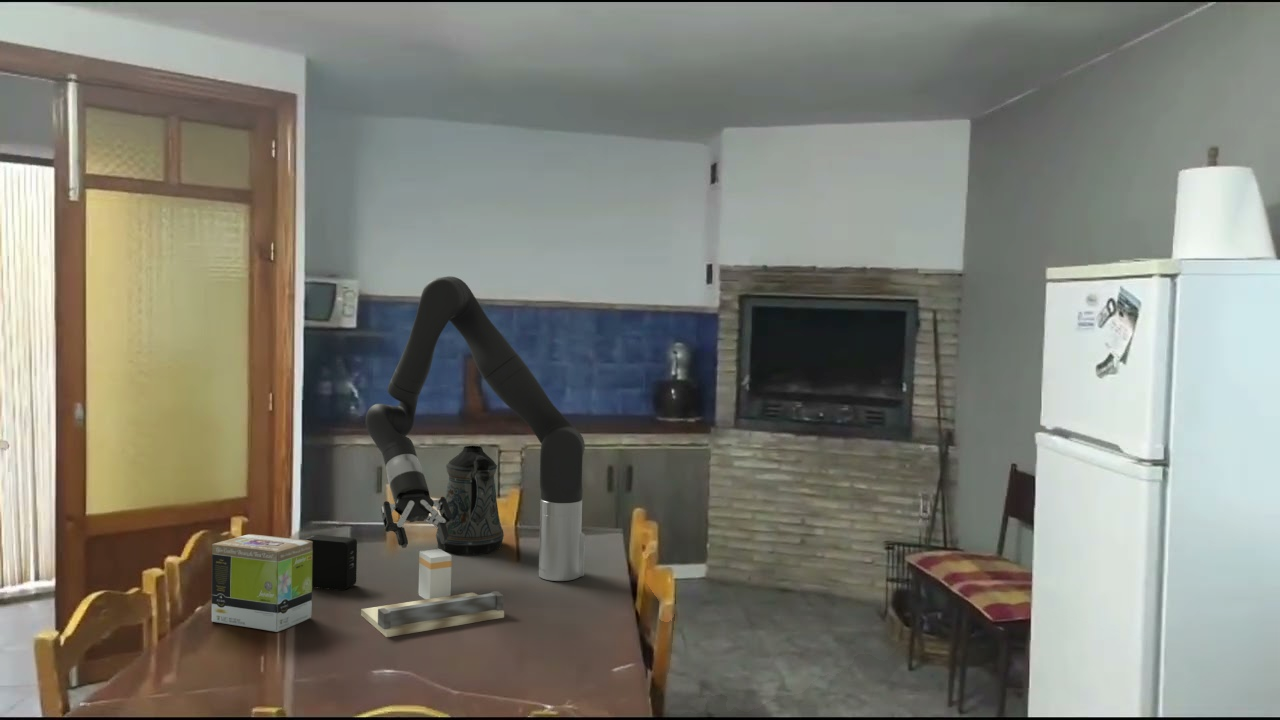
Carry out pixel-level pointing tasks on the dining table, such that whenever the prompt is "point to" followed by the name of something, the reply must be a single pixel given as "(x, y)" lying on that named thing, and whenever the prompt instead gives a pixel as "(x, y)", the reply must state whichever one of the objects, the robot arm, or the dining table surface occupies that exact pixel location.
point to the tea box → (262, 582)
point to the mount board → (428, 624)
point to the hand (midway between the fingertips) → (425, 543)
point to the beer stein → (472, 504)
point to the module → (434, 574)
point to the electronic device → (333, 562)
